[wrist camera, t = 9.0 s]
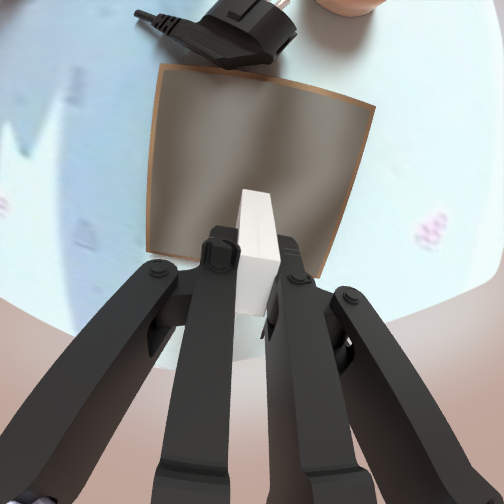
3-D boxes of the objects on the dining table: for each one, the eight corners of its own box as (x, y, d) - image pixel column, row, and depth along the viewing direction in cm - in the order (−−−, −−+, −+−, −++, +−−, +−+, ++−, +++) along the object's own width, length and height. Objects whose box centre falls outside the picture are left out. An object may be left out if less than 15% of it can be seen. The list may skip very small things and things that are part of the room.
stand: (152, 240, 26) (144, 254, 24) (167, 65, 18) (158, 63, 16) (315, 266, 28) (320, 281, 26) (366, 104, 19) (378, 106, 17)
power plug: (110, 9, 12) (241, 71, 13) (176, -61, 9) (322, -13, 10) (148, 31, 17) (259, 92, 18) (201, -29, 15) (320, 24, 15)
